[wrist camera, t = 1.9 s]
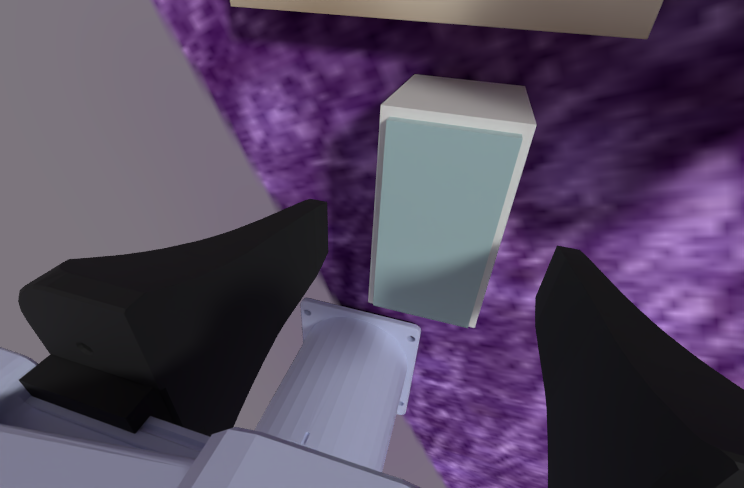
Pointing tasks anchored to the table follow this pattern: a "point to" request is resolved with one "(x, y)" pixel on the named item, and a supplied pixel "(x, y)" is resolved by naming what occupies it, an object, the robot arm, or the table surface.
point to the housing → (445, 193)
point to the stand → (494, 13)
